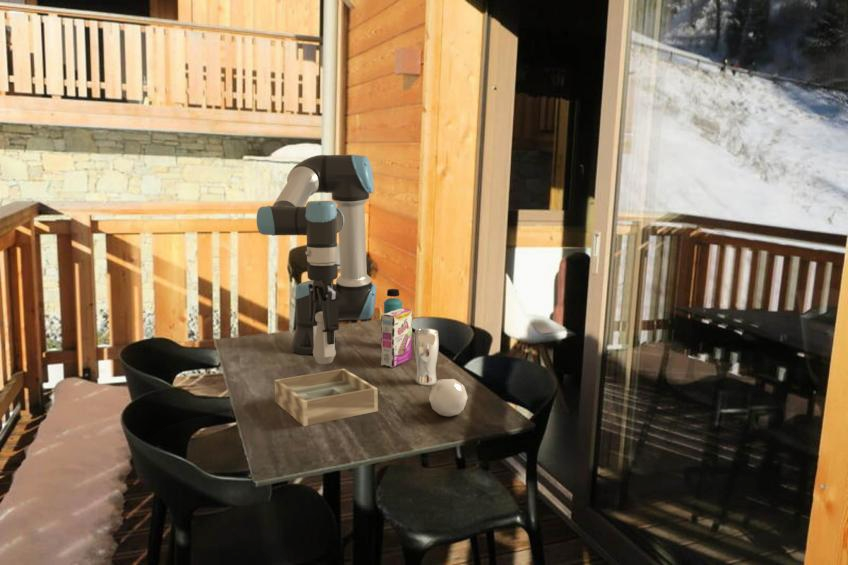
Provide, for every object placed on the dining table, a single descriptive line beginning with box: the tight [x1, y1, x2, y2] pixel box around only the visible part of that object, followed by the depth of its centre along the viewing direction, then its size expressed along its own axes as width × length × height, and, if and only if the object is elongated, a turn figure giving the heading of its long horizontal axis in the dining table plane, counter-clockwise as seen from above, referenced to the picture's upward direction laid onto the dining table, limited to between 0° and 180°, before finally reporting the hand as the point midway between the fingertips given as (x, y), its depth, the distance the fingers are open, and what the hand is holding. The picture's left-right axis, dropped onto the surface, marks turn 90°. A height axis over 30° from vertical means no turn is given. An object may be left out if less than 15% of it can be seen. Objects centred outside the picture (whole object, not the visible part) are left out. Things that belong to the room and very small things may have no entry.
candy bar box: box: [380, 308, 413, 369], centre depth 221 cm, size 11×5×16 cm, turn 150°
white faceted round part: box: [428, 378, 469, 417], centre depth 180 cm, size 9×10×15 cm
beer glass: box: [413, 327, 440, 386], centre depth 203 cm, size 7×7×15 cm
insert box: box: [274, 368, 379, 427], centre depth 183 cm, size 20×20×6 cm
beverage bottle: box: [383, 288, 403, 314], centre depth 239 cm, size 6×7×20 cm
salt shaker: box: [312, 311, 337, 365], centre depth 180 cm, size 6×6×13 cm
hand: (324, 353), depth 181 cm, fingers closed on salt shaker, 6 cm apart
